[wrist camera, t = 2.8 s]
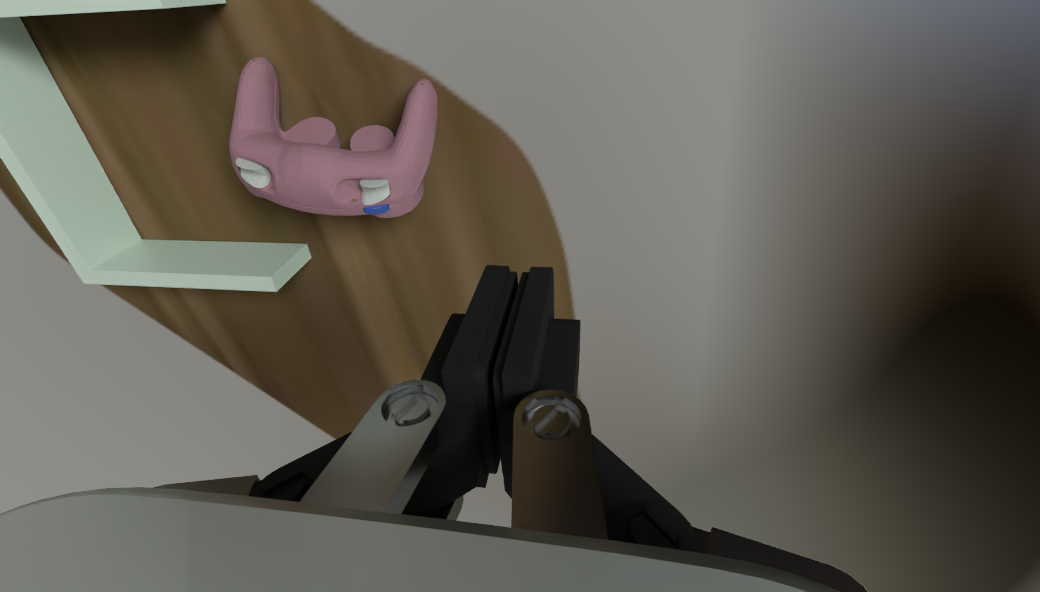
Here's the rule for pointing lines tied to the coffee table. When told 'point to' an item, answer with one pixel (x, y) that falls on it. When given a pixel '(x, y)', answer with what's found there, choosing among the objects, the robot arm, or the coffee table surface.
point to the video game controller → (329, 153)
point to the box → (105, 178)
